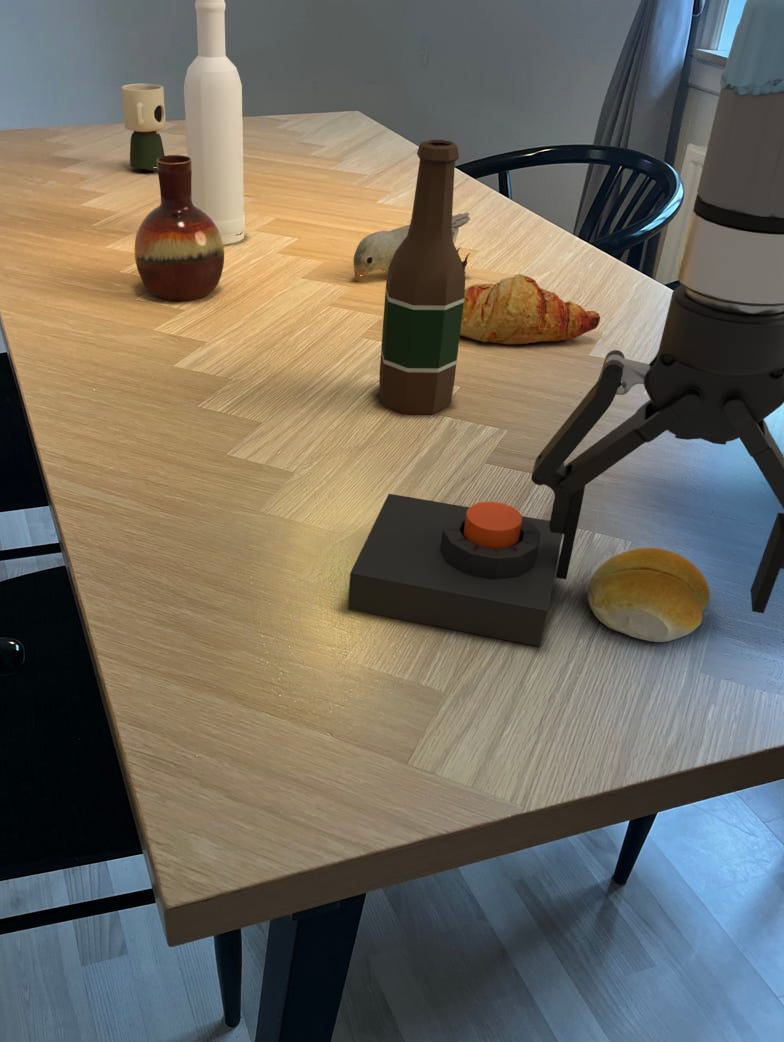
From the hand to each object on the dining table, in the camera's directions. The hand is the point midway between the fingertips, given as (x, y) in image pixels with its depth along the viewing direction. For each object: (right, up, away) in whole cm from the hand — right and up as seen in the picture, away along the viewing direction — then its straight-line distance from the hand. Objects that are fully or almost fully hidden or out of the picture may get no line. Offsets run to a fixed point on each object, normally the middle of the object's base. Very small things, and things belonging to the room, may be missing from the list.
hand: (657, 585), depth 71 cm
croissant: (-2, +32, +45) cm, 55 cm away
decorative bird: (-12, +45, +60) cm, 75 cm away
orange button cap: (-12, +4, 0) cm, 13 cm away
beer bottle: (-14, +20, +29) cm, 39 cm away
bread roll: (0, -2, +1) cm, 2 cm away
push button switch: (-14, 0, +4) cm, 14 cm away
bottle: (-38, +55, +72) cm, 98 cm away
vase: (-41, +40, +54) cm, 79 cm away
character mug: (-53, +79, +102) cm, 140 cm away
